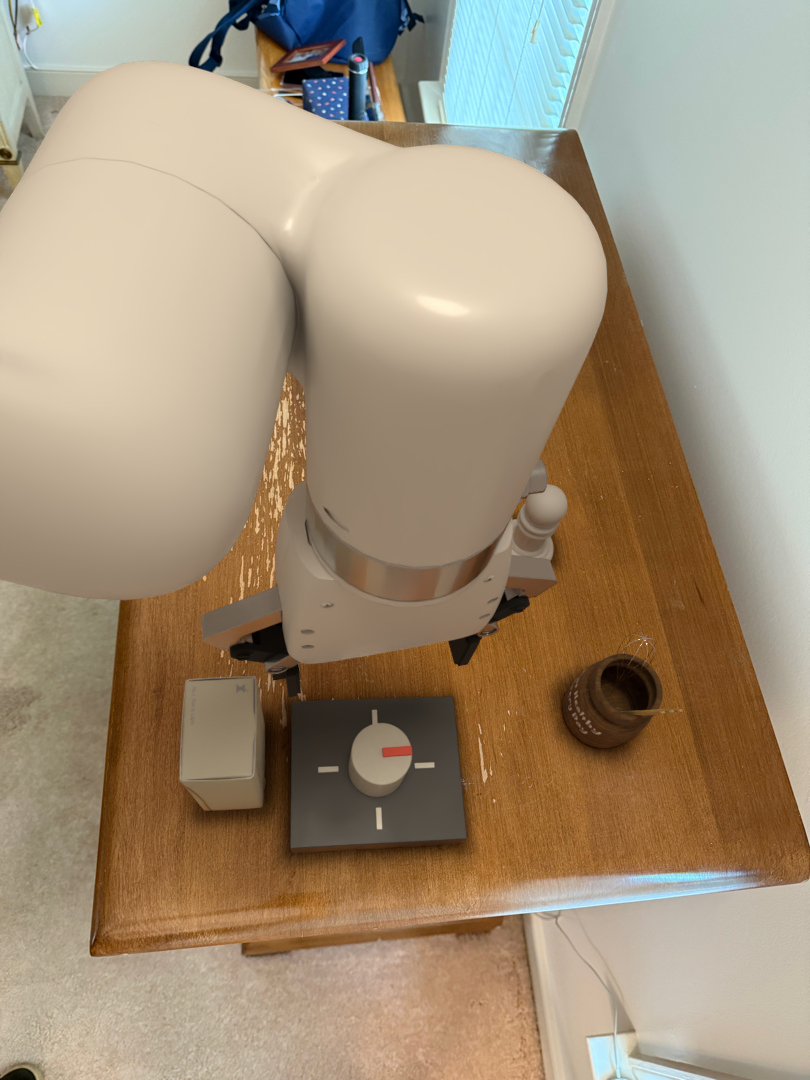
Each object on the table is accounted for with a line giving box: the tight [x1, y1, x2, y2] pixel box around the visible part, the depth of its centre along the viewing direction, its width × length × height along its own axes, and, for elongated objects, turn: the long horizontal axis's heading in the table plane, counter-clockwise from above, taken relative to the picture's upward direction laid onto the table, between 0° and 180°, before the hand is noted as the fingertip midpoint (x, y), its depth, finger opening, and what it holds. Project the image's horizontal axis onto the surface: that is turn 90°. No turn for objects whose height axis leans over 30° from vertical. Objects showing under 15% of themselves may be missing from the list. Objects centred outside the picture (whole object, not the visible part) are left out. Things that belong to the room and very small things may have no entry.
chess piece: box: [512, 483, 569, 562], centre depth 61 cm, size 5×5×9 cm
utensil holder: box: [562, 630, 684, 749], centre depth 53 cm, size 6×6×12 cm
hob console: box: [289, 695, 468, 854], centre depth 53 cm, size 12×10×3 cm
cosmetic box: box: [178, 675, 266, 812], centre depth 48 cm, size 6×4×12 cm
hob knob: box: [349, 723, 412, 797], centre depth 50 cm, size 4×4×5 cm
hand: (374, 656), depth 42 cm, fingers open, 9 cm apart
